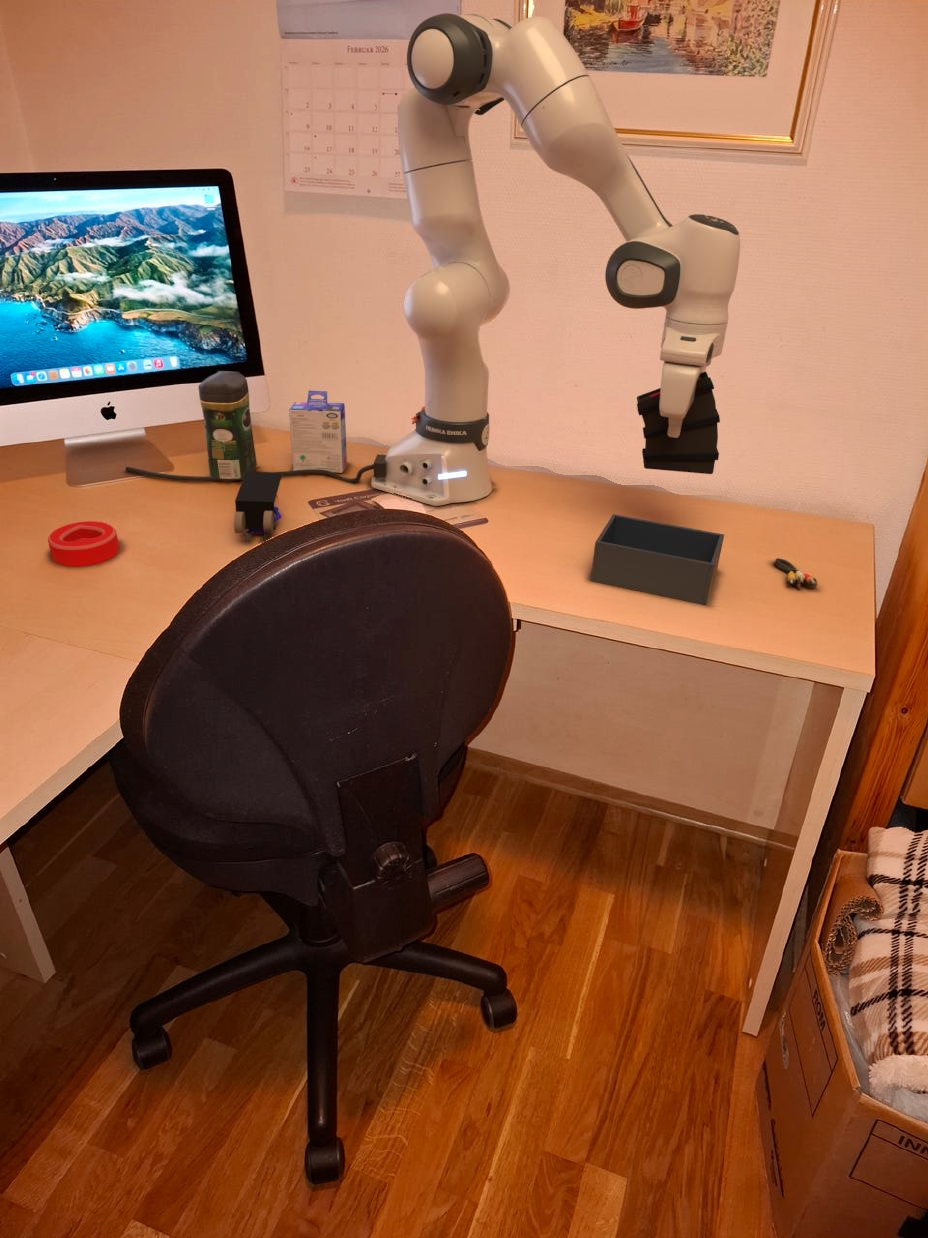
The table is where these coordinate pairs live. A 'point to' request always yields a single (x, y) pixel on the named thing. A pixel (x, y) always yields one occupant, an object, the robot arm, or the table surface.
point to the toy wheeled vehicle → (257, 504)
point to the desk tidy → (657, 558)
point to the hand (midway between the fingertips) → (676, 430)
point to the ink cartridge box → (318, 434)
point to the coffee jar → (227, 425)
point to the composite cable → (796, 575)
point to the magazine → (695, 439)
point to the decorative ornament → (83, 543)
